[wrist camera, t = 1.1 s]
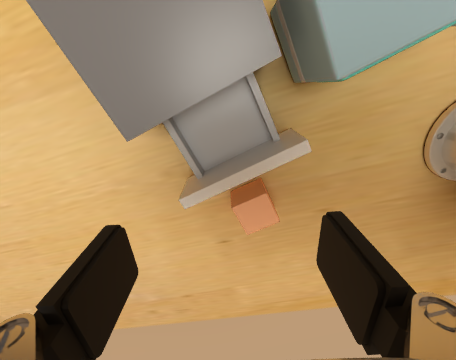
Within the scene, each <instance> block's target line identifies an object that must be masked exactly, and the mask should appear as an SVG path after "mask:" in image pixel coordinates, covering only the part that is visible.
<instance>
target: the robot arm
mask: <svg viewBox="0 0 456 360" xmlns="http://www.w3.org/2000/svg"><path fill="white" fill-rule="evenodd" d="M424 157H425V161H426V164H427V166H428V168H429V169H430V170H431V171H432V172H433V173H434V174H436V175H438V176H440V177H442V178H445V179H448V180H453V181H456V102H455V103H454V104H453V105H451V106H450V107H449V108H448V109H447V110H446V111H445V112H444V113H443V114H442V115H441V116H440V117H439V119H438V120H437V121H436V122H435V124H434V125H433V127H432V129H431V130H430V132H429V135H428V137H427V140H426V143H425V148H424ZM317 265H318V268H319V270H320V272H321V274H322V276H323V278H324V279H325V281H326V283H327V285H328V287H329V289H330V291H331V293H332V295H333V297H334V299H335V301H336V303H337V305H338V307H339V309H340V311H341V313H342V315H343V317H344V319H345V321H346V323H347V324H348V327H349V329H350V330H351V332H352V334H353V336H354V338H355V340H356V342H357V343H358V344H359V345H362V346H363V348H364V349H365V351H366V353H367V355H376V354H381V356H382V358H340V359H313V360H456V303H455V302H453V301H452V300H449V299H447V298H445V297H443V296H441V295H437V294H434V293H429V292H420V293H416V292H415V291H414V290H413V289H412V288H411V286H410V285H409V284H408V283H407V282H406V281H405V280H404V279H403V278H402V277H401V275H400V274H399V273H398V272H397V271H396V270H395V269H394V268H393V267H392V266H391V265H390V264H389V262H388V261H387V260H386V259H385V258H384V257H383V256H382V255H381V254H380V253H379V252H378V251H377V249H376V248H375V247H374V246H373V245H372V244H371V243H370V242H369V241H368V240H367V239H366V238H365V236H364V235H363V234H362V233H361V232H360V231H359V230H358V229H357V228H356V227H355V226H354V224H353V223H352V222H351V221H350V220H349V219H348V218H347V217H346V216H345V215H344V214H343V213H342V212H341V211H335V212H327V213H326V215H324V216H323V217H322V223H321V231H320V238H319V245H318V252H317ZM137 276H138V267H137V264H136V261H135V258H134V255H133V252H132V249H131V246H130V243H129V240H128V237H127V234H126V231H125V229H124V228H122V227H121V226H120V225H107V226H105V227H104V228H103V229H102V230H101V231H100V233H99V234H98V235H97V236H96V237H95V238H94V240H93V241H92V242H91V243H90V244H89V245H88V246H87V248H86V249H85V250H84V251H83V252H82V253H81V255H80V256H79V257H78V258H77V259H76V260H75V262H74V263H73V264H72V265H71V266H70V267H69V268H68V270H67V271H66V272H65V273H64V274H63V275H62V277H61V278H60V279H59V280H58V281H57V282H56V284H55V285H54V286H53V287H52V288H51V289H50V291H49V292H48V293H47V294H46V295H45V296H44V297H43V299H42V300H41V301H40V302H39V303H38V304H37V306H36V308H37V309H38V310H37V311H36V313H35V314H34V315H32V314H30V313H23V314H19V315H16V316H13V317H11V318H9V319H7V320H5V321H3V322H2V323H0V360H96V358H98V357H99V356H100V355H101V354H102V352H103V350H104V348H105V346H106V344H107V341H108V339H109V337H110V335H111V333H112V331H113V328H114V326H115V324H116V322H117V320H118V318H119V315H120V313H121V311H122V309H123V307H124V305H125V303H126V300H127V298H128V296H129V294H130V292H131V290H132V287H133V285H134V283H135V281H136V279H137Z"/></svg>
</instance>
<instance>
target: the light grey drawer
mask: <svg viewBox="0 0 456 360" xmlns="http://www.w3.org/2000/svg"><path fill="white" fill-rule="evenodd" d="M162 123H163V124H164V126H165V127H166V129H167V131H168V132H169V134H170V136H171V137H172V139H173V140H174V142H175V144H176V145H177V147H178V148H179V150H180V152H181V153H182V155H183V156H184V158H185V160H186V161H187V163H188V165H189V166H190V168H191V169H192V171H193V173H194V174H195V175H193V176H191V177H189V178H188V179H187V181H186V184H185V186H184V188H183V191H182V193H181V196H180V198H179V202H180V203H181V204H182V206H183V207H184V209H187V208H189V207H191V206H193V205H196V204H198V203H200V202H202V201H204V200H207V199H209V198H211V197H213V196H215V195H217V194H220V193H222V192H224V191H226V190H228V189H231V188H233V187H235V186H237V185H239V184H242V183H244V182H246V181H248V180H250V179H253V178H255V177H257V176H259V175H261V174H264V173H266V172H268V171H270V170H272V169H274V168H277V167H279V166H281V165H283V164H285V163H288V162H290V161H292V160H294V159H296V158H299V157H301V156H303V155H305V154H307V153H310V152H312V151H311V148H310V145H309V142H308V140H307V139H306V138H304V137H303V136H301V135H300V134H298V133H297V132H295V131H294V130H292V129H291V128H290V129H288V130H286V131H284V132H282V133H280V134H278V132H277V130H276V127H275V125H274V122H273V120H272V118H271V115H270V113H269V110H268V108H267V105H266V103H265V100H264V98H263V96H262V93H261V91H260V88H259V86H258V83H257V81H256V78H255V76H254V74H253V72H252V73H250V74H248V75H247V76H245V77H243V78H241V79H239V80H238V81H236V82H234V83H232V84H230V85H229V86H227V87H225V88H223V89H221V90H220V91H218V92H216V93H214V94H212V95H211V96H209V97H207V98H205V99H203V100H202V101H200V102H198V103H196V104H195V105H193V106H191V107H189V108H187V109H186V110H184V111H182V112H180V113H178V114H177V115H175V116H173V117H171V118H169V119H168V120H166V121H164V122H162Z"/></svg>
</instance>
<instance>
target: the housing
mask: <svg viewBox="0 0 456 360" xmlns="http://www.w3.org/2000/svg"><path fill="white" fill-rule="evenodd" d="M26 1H27V2H28V4H29V5H30V6H31V8H32V9H33V11H34V12H35V13H36V15H37V16H38V18H39V19H40V20H41V22H42V23H43V25H44V26H45V27H46V29H47V30H48V32H49V33H50V34H51V36H52V37H53V39H54V40H55V41H56V43H57V44H58V46H59V47H60V48H61V50H62V51H63V53H64V54H65V55H66V57H67V58H68V60H69V61H70V62H71V64H72V65H73V67H74V68H75V69H76V71H77V72H78V74H79V75H80V76H81V78H82V79H83V81H84V82H85V83H86V85H87V86H88V88H89V89H90V90H91V92H92V93H93V95H94V96H95V97H96V99H97V100H98V102H99V103H100V104H101V106H102V107H103V109H104V110H105V111H106V113H107V114H108V116H109V117H110V118H111V120H112V121H113V123H114V124H115V125H116V127H117V128H118V130H119V131H120V132H121V134H122V135H123V137H124V138H125V139H126V141H127V142H128V141H130V140H132V139H133V138H135V137H137V136H139V135H141V134H142V133H144V132H146V131H148V130H150V129H151V128H153V127H155V126H157V125H159V124H160V123H162V122H164V121H166V120H168V119H169V118H171V117H173V116H175V115H177V114H178V113H180V112H182V111H184V110H186V109H187V108H189V107H191V106H193V105H195V104H196V103H198V102H200V101H202V100H203V99H205V98H207V97H209V96H211V95H212V94H214V93H216V92H218V91H220V90H221V89H223V88H225V87H227V86H229V85H230V84H232V83H234V82H236V81H238V80H239V79H241V78H243V77H245V76H247V75H248V74H250V73H252V72H254V71H256V70H257V69H259V68H261V67H263V66H265V65H266V64H268V63H270V62H272V61H274V60H275V59H277V58H279V57H281V56H282V55H281V52H280V49H279V46H278V43H277V40H276V38H275V35H274V32H273V29H272V26H271V23H270V20H269V17H268V15H267V12H266V9H265V6H264V3H263V0H26Z"/></svg>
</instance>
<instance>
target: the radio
mask: <svg viewBox="0 0 456 360" xmlns="http://www.w3.org/2000/svg"><path fill="white" fill-rule="evenodd" d="M271 17H272V21H273V23H274V26H275V29H276V32H277V35H278V38H279V41H280V44H281V46H282V49H283V52H284V55H285V58H286V61H287V64H288V67H289V69H290V72H291V75H292V78H293V80H294V82H295V83H301V82H339V81H344V80H346V79H348V78H350V77H352V76H354V75H356V74H358V73H360V72H362V71H364V70H366V69H368V68H370V67H372V66H374V65H376V64H378V63H380V62H382V61H384V60H386V59H388V58H389V57H391V56H393V55H395V54H397V53H399V52H401V51H403V50H405V49H407V48H409V47H411V46H413V45H415V44H417V43H419V42H421V41H423V40H425V39H427V38H429V37H431V36H433V35H435V34H437V33H439V32H440V31H442V30H444V29H446V28H448V27H450V26H456V0H277V2H276V4H275V5H274V7H273V8H272V10H271Z"/></svg>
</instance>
